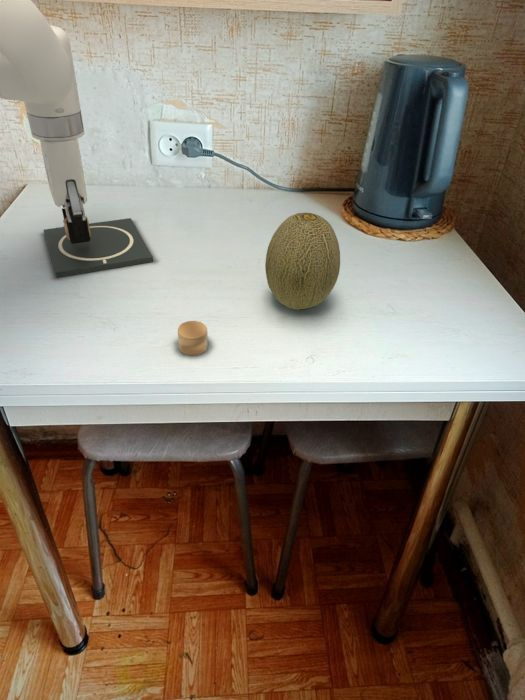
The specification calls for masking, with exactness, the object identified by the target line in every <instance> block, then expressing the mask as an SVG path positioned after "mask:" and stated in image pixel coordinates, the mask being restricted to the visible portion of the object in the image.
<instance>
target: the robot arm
mask: <svg viewBox="0 0 525 700" xmlns="http://www.w3.org/2000/svg"><path fill="white" fill-rule="evenodd" d="M0 99H4V100H8V101H11V100H12V101H18V102H23V103H24V105H25V106H24V107H25V111H26V115H27V120H28V125H29V130H30V133H31V134H30V135H31V136H32V138H33V139H35V140H38V141H39V143H40V149H41V154H42V159H43V164H44V168H45V173H46V178H47V181H48V182H47V183H48V186H49V187H48V188H49V191H50V194H51V197H52V200H53V203H54V205H55V206H56V207H58V208H61V207H62V208H61V212H62V218H63V220H64V219H65V218H66V217H67V219H68V221H66V223H67V228H68V233H69V237H70V242H71V243H72V244H76V243H82V242H89V241H90V234H89V229H88V223H87V219H86V218H85V216H86V214H85V209H84V205H85V204H86V203H87V202H88V194H87V187H86V180H85V174H84V173H85V172H84V167H83V166H84V165H83V161H82V154H81V150H80V144H79V139H80V138H82V137H83V136H84V135H85V127H84V122H83V114H82V109H81V103H80V102H81V101H80V96H79V91H78V84H77V79H76V71H75V66H74V58H73V53H72V47H71V41H70V39H69V36H68V34H67V32H66V31H65V30H64V29H63V28H61V27H59V26H56V25H50V23H49V22H48V20H47V19H46V18H45V16H44V15H43V13H42V12H41V11H40V9H39V8H38V7H37V6H36V4H35V3H34V2H33V1H32V0H0Z"/></svg>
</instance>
